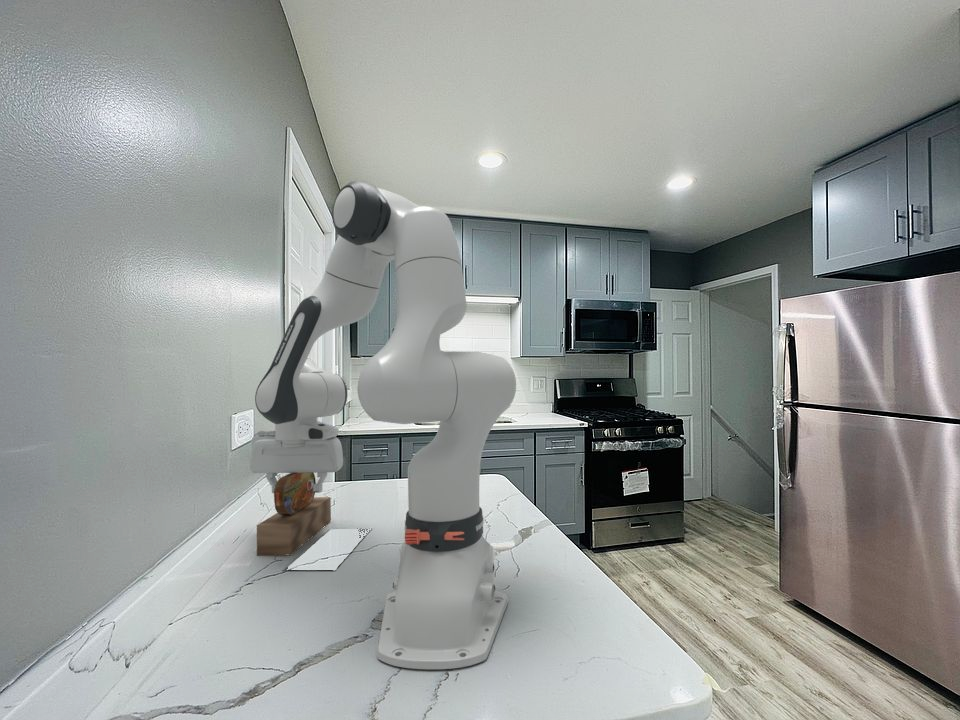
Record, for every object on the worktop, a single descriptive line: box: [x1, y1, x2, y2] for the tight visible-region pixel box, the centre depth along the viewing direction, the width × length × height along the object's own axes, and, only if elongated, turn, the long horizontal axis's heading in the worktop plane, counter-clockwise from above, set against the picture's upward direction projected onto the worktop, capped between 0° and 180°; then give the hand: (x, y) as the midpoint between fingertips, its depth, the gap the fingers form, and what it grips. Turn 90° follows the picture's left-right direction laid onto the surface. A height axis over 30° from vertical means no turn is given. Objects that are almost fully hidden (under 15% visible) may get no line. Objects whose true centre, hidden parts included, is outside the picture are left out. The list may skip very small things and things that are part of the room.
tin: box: [273, 473, 317, 515], centre depth 98 cm, size 15×3×8 cm, turn 176°
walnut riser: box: [256, 496, 332, 556], centre depth 98 cm, size 20×7×6 cm, turn 176°
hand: (297, 492), depth 98 cm, fingers open, 8 cm apart
